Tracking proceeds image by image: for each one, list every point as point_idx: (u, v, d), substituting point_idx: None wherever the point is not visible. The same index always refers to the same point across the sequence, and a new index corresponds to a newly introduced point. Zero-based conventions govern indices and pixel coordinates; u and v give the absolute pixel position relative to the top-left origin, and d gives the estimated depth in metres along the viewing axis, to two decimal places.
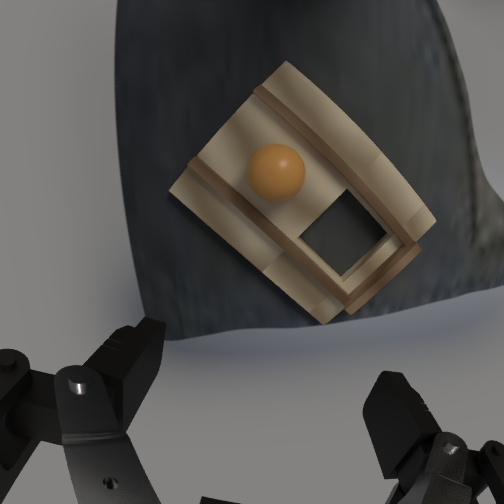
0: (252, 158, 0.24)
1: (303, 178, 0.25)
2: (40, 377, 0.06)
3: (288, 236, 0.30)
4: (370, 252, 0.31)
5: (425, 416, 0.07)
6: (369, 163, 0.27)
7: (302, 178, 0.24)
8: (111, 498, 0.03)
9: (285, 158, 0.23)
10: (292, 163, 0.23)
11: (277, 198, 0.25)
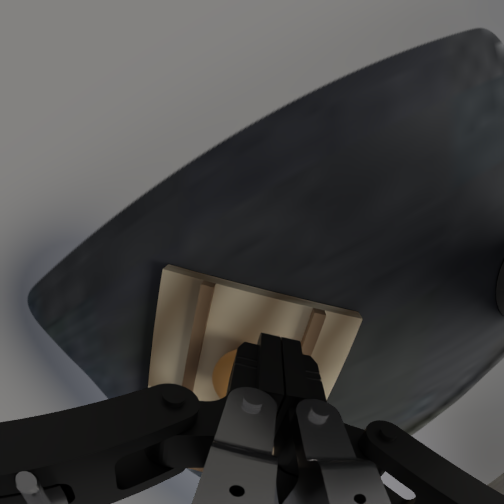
0: None
1: None
2: None
3: None
4: None
5: (302, 381, 0.08)
6: None
7: None
8: (228, 502, 0.03)
9: None
10: None
11: (220, 398, 0.22)
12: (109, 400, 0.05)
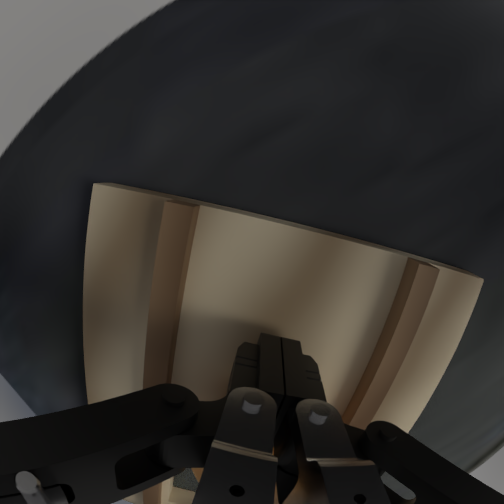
0: None
1: None
2: None
3: None
4: None
5: (302, 381, 0.08)
6: None
7: None
8: (228, 502, 0.03)
9: None
10: None
11: None
12: (109, 400, 0.05)
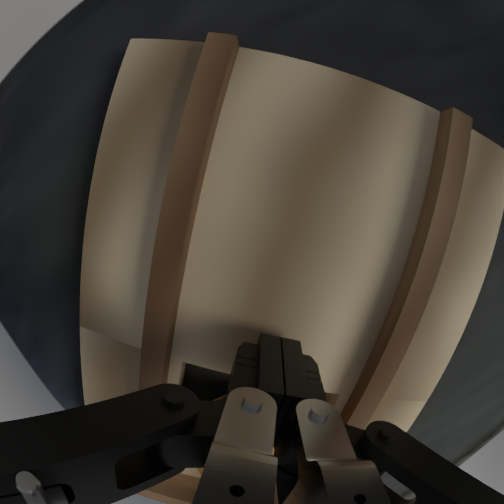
0: None
1: None
2: None
3: (174, 345, 0.12)
4: None
5: (302, 381, 0.08)
6: (401, 397, 0.12)
7: None
8: (229, 502, 0.03)
9: None
10: None
11: (224, 396, 0.12)
12: (109, 400, 0.05)
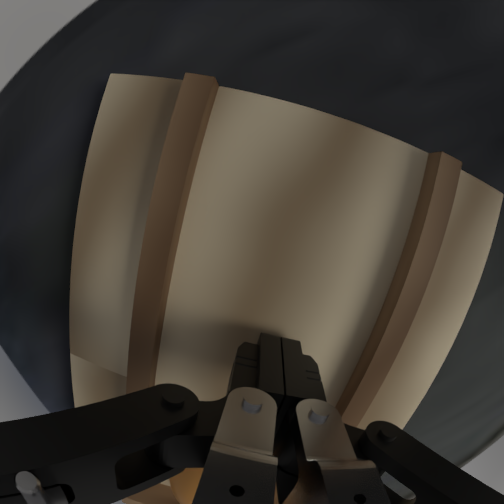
0: None
1: None
2: (198, 406, 0.07)
3: (157, 376, 0.12)
4: None
5: (302, 381, 0.08)
6: None
7: None
8: (228, 502, 0.03)
9: None
10: None
11: None
12: (109, 400, 0.05)
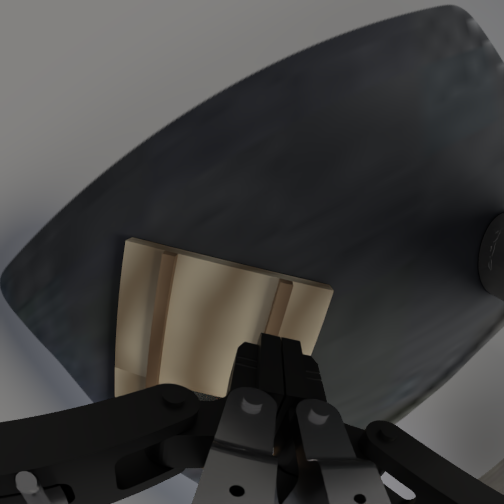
0: None
1: None
2: (198, 406, 0.07)
3: (160, 375, 0.26)
4: None
5: (302, 381, 0.08)
6: None
7: None
8: (228, 502, 0.03)
9: None
10: None
11: None
12: (109, 400, 0.05)
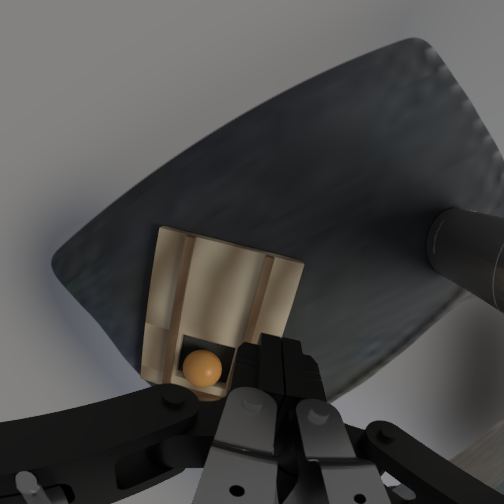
0: None
1: (214, 358, 0.36)
2: None
3: (179, 328, 0.37)
4: None
5: (302, 381, 0.08)
6: None
7: (214, 357, 0.37)
8: (228, 502, 0.03)
9: None
10: None
11: (194, 351, 0.37)
12: (109, 400, 0.05)
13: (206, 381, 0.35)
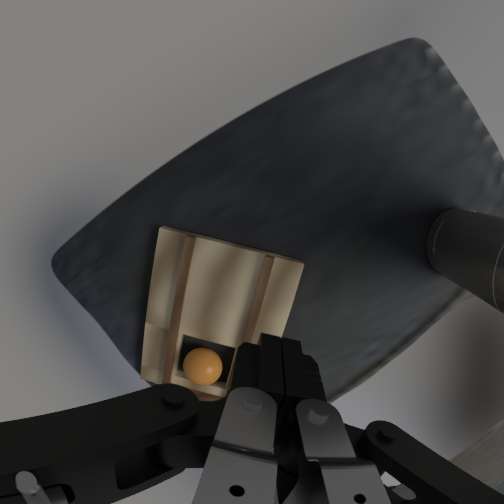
0: None
1: (215, 355, 0.37)
2: None
3: (179, 328, 0.37)
4: None
5: (302, 381, 0.08)
6: None
7: (215, 354, 0.37)
8: (228, 502, 0.03)
9: None
10: None
11: (195, 349, 0.37)
12: (109, 400, 0.05)
13: (206, 377, 0.35)
